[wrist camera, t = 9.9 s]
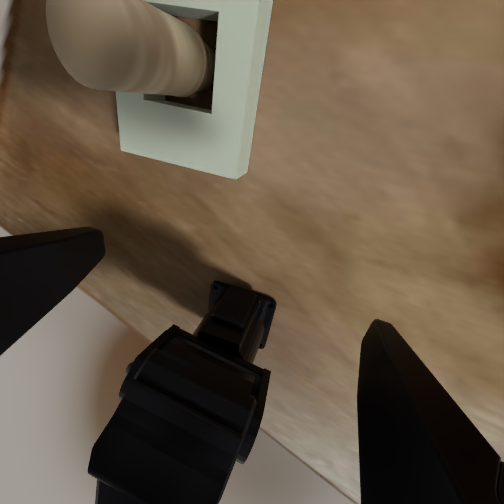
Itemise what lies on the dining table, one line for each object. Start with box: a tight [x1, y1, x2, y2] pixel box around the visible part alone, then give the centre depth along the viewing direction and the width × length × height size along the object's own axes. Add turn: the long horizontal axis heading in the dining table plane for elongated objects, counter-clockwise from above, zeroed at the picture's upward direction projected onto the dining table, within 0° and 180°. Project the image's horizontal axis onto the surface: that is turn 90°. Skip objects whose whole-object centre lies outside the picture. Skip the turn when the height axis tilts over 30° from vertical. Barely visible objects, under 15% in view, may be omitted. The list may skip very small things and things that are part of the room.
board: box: [116, 0, 273, 180], centre depth 16 cm, size 12×9×2 cm
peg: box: [46, 0, 216, 97], centre depth 14 cm, size 4×4×9 cm
